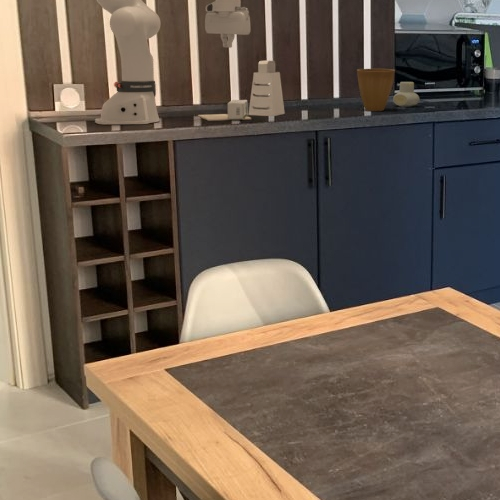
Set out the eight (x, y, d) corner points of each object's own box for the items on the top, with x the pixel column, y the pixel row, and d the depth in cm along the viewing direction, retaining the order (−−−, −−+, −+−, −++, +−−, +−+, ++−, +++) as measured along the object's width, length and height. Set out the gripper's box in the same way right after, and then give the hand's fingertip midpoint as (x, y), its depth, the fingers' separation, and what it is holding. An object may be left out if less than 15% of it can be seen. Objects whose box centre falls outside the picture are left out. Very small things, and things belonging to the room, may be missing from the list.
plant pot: (349, 109, 338) (350, 69, 334) (382, 108, 343) (384, 68, 339) (365, 112, 325) (367, 70, 320) (399, 111, 329) (401, 70, 325)
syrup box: (242, 102, 295) (248, 99, 309) (226, 102, 296) (232, 99, 310) (243, 119, 297) (248, 115, 310) (226, 119, 297) (233, 115, 311)
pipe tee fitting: (422, 106, 349) (423, 82, 346) (410, 107, 344) (411, 83, 341) (401, 105, 357) (402, 81, 354) (389, 106, 351) (390, 82, 349)
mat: (208, 120, 297) (208, 119, 297) (198, 116, 312) (198, 114, 312) (251, 119, 301) (251, 117, 301) (239, 114, 316) (239, 113, 316)
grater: (248, 114, 317) (248, 61, 312) (260, 112, 326) (260, 60, 321) (273, 116, 312) (273, 61, 307) (284, 113, 321) (285, 60, 316)
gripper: (255, 7, 286) (254, 48, 289) (215, 7, 300) (215, 46, 304) (241, 6, 282) (241, 48, 285) (202, 6, 296) (202, 46, 299)
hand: (227, 47), depth 295 cm, fingers closed
